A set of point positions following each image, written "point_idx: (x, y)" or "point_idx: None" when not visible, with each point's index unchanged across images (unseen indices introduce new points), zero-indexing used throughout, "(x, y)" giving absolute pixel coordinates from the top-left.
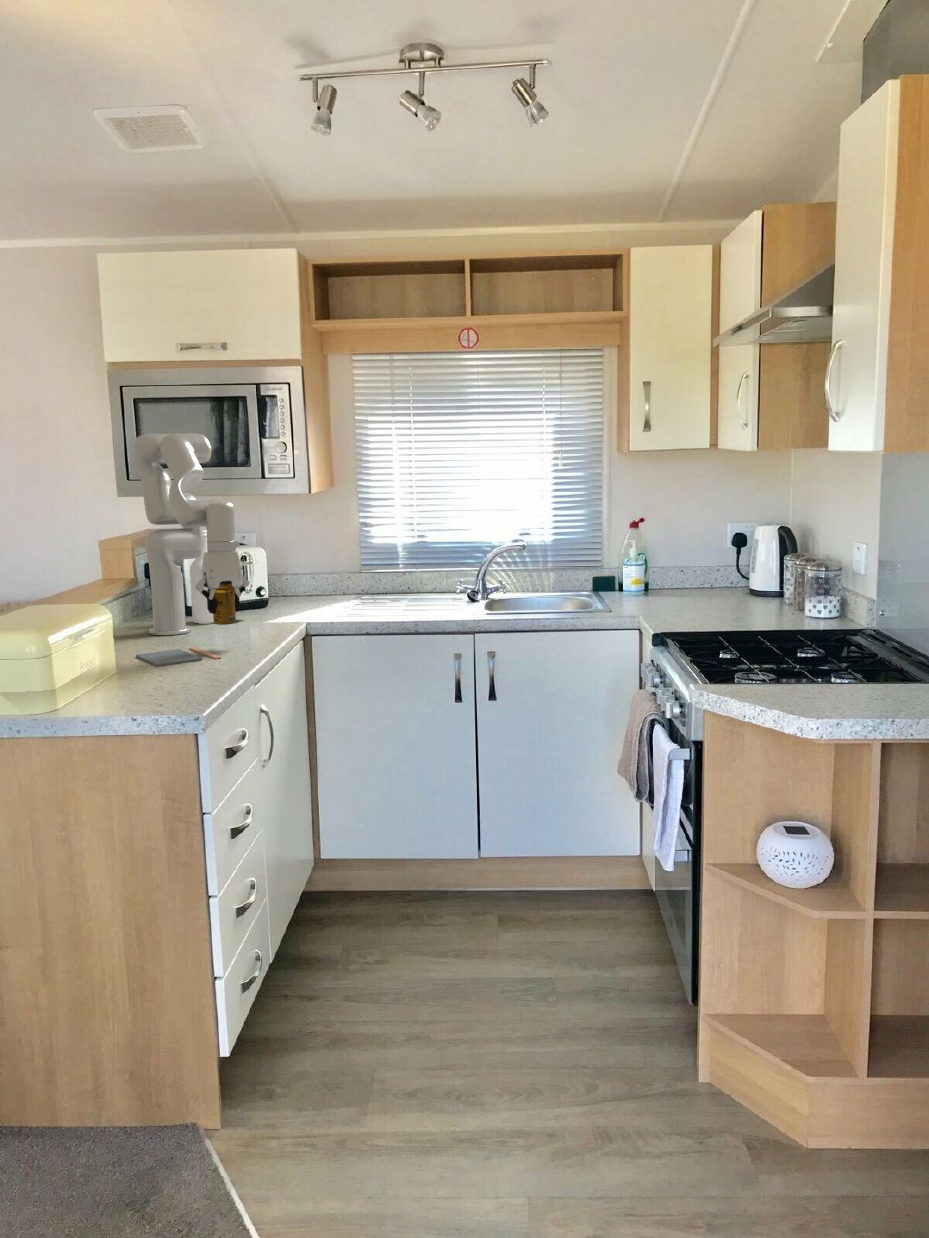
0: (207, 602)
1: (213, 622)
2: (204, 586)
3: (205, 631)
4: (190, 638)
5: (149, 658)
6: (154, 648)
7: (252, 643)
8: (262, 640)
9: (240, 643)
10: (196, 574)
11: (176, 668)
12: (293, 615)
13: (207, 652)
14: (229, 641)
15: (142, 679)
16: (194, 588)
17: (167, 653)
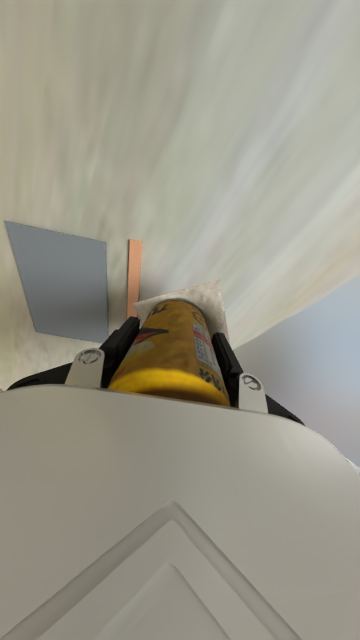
0: (103, 346)
1: (153, 305)
2: (17, 395)
3: None
4: (215, 49)
5: (29, 282)
6: (65, 141)
7: (245, 293)
8: (279, 282)
9: (233, 273)
10: None
11: (62, 356)
12: None
13: (134, 311)
14: (239, 230)
15: (12, 373)
16: None
17: (69, 266)
